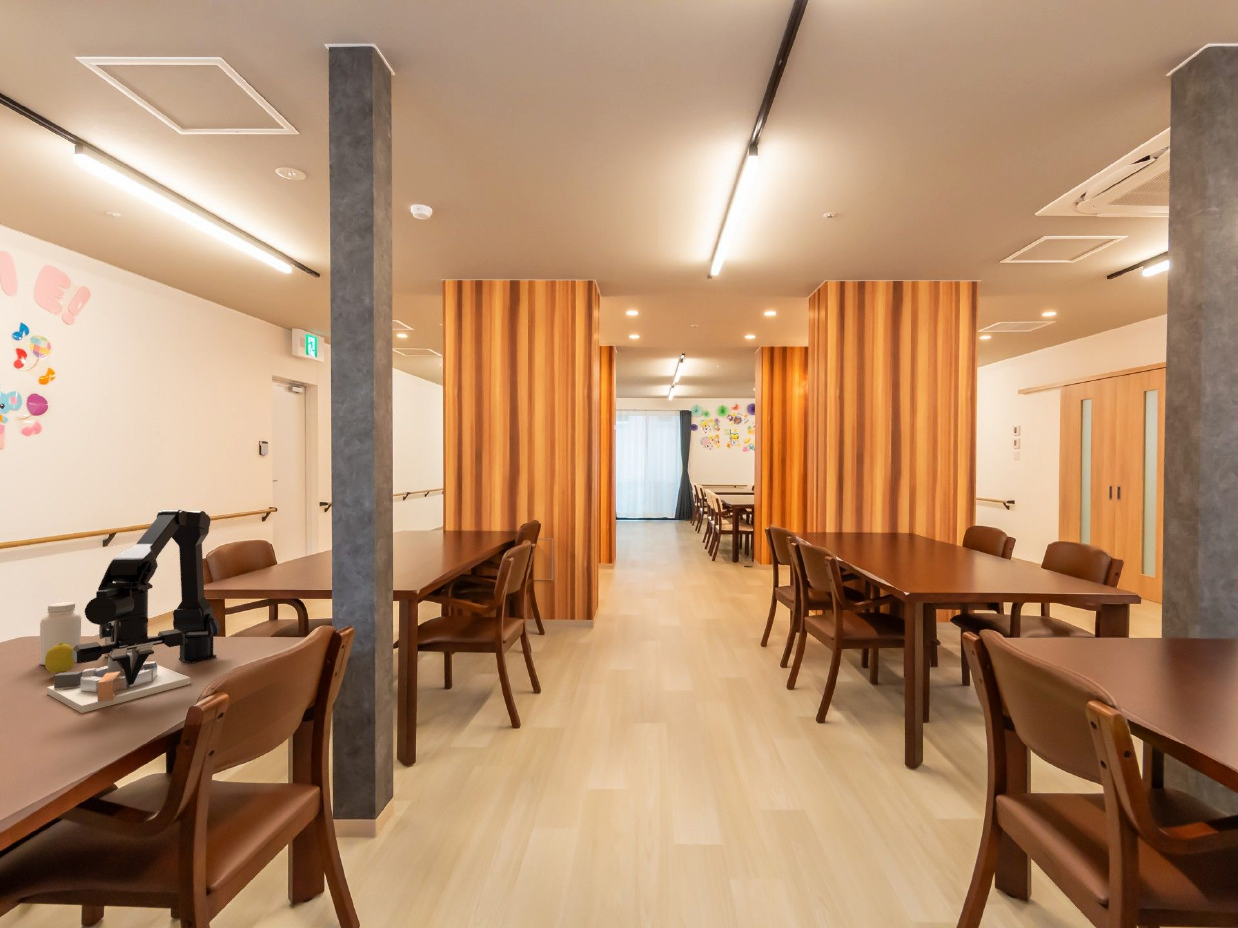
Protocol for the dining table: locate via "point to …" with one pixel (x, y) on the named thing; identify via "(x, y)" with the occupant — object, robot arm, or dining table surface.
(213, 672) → the dining table surface
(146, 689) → the base board
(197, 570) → the robot arm
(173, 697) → the dining table surface
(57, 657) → the lemon
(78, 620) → the pill bottle
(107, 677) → the toy block set
